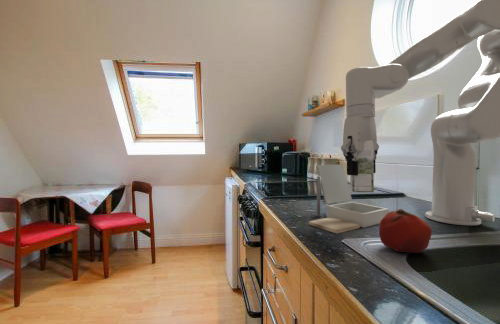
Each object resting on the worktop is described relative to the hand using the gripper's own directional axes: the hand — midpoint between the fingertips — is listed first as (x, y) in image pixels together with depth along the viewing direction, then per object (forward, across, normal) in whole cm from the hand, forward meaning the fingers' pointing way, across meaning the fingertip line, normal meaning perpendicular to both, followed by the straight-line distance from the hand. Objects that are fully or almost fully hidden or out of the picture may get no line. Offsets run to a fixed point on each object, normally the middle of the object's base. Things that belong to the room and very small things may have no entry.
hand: (361, 173), depth 72 cm
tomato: (+14, +14, +18) cm, 27 cm away
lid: (+3, +1, -8) cm, 9 cm away
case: (+13, +2, -2) cm, 14 cm away
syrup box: (+5, 0, 0) cm, 5 cm away
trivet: (+13, +13, 0) cm, 18 cm away
